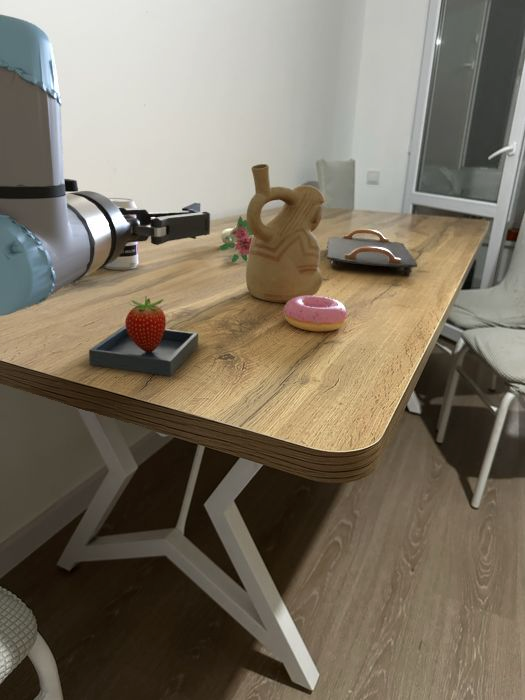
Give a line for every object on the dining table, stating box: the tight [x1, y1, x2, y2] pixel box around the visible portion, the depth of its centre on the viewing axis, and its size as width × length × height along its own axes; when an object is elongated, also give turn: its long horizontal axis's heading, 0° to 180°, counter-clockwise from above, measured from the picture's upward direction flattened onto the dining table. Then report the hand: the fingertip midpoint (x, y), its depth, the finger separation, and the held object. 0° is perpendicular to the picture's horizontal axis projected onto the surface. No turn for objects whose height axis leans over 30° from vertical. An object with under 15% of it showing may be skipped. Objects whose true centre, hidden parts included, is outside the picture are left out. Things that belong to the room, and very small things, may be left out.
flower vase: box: [217, 215, 254, 264], centre depth 136 cm, size 12×12×35 cm
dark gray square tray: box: [88, 324, 199, 377], centre depth 72 cm, size 11×11×2 cm
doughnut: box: [282, 295, 348, 332], centre depth 88 cm, size 11×11×4 cm
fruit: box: [124, 295, 167, 352], centre depth 70 cm, size 5×5×8 cm
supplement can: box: [103, 197, 139, 271], centre depth 117 cm, size 8×8×15 cm
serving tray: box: [325, 228, 418, 276], centre depth 144 cm, size 39×23×6 cm, turn 172°
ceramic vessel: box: [245, 163, 326, 304], centre depth 101 cm, size 17×20×25 cm
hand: (147, 209), depth 69 cm, fingers open, 13 cm apart
